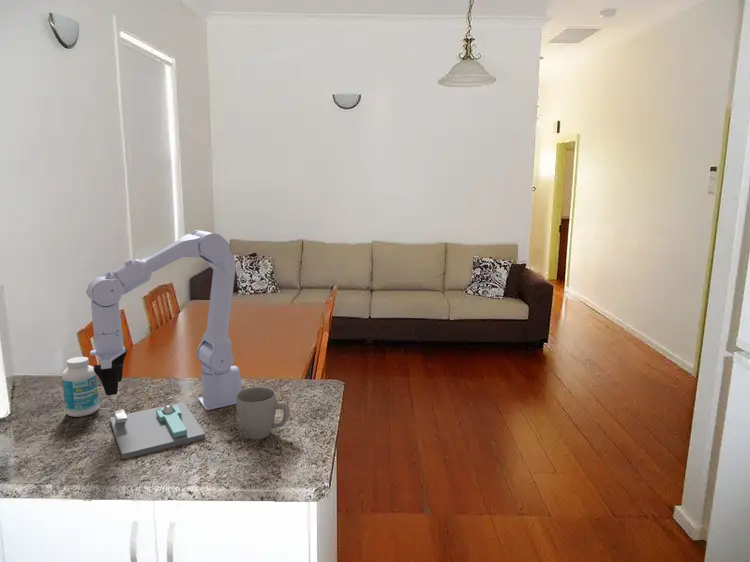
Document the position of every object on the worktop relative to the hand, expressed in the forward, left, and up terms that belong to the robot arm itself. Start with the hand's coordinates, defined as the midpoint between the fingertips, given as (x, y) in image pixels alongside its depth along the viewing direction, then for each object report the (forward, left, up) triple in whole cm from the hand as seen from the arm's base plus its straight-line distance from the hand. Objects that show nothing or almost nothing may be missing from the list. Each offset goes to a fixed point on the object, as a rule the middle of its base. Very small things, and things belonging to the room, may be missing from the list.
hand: (114, 387), depth 127 cm
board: (-7, +6, -10) cm, 14 cm away
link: (-11, +8, -8) cm, 16 cm away
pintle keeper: (-6, +2, -10) cm, 12 cm away
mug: (-28, +21, -10) cm, 36 cm away
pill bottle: (+6, -14, -10) cm, 19 cm away
